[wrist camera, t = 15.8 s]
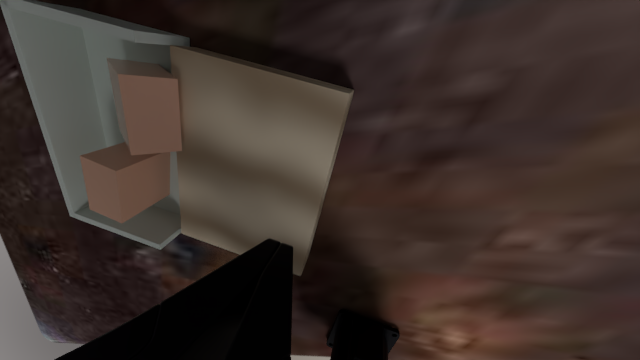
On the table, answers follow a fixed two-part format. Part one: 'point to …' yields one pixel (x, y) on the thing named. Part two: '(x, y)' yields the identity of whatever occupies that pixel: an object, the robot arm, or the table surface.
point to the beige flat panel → (254, 151)
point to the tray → (88, 99)
